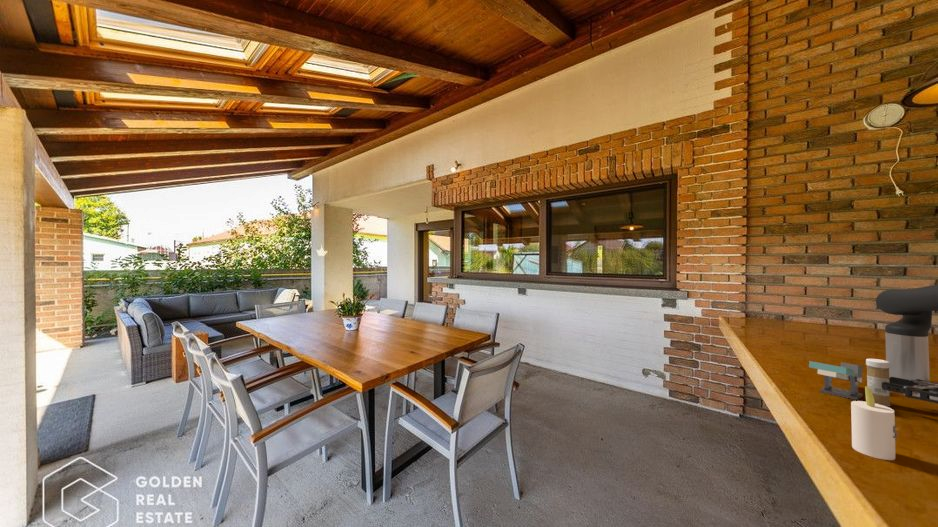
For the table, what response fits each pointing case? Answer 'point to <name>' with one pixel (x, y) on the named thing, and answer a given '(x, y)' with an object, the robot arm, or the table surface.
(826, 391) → the pivot stand
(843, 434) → the table surface
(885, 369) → the sprinkles bottle
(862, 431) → the candle
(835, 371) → the beam
